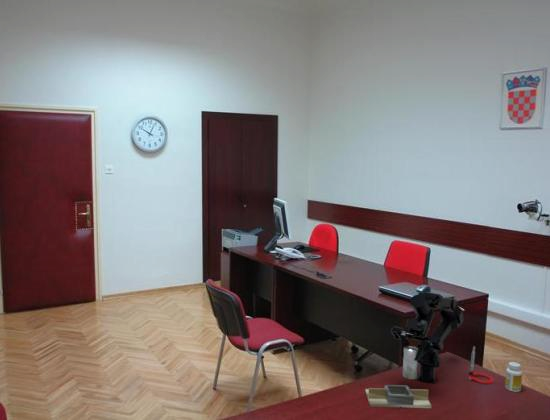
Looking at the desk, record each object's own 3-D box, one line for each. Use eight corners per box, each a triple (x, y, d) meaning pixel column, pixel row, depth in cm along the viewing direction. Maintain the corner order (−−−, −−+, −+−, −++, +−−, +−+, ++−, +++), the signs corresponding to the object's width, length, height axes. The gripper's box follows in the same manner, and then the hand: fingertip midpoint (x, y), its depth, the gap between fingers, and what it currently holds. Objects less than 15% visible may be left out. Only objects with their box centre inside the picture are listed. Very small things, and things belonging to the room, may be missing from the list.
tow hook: (494, 378, 192) (469, 372, 196) (497, 347, 191) (472, 342, 194) (493, 387, 185) (467, 381, 188) (497, 355, 183) (471, 349, 187)
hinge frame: (365, 391, 179) (365, 379, 178) (422, 393, 178) (423, 381, 178) (370, 406, 168) (370, 394, 167) (431, 408, 167) (431, 395, 167)
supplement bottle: (522, 388, 183) (524, 364, 182) (518, 393, 179) (520, 368, 178) (507, 384, 186) (509, 359, 185) (503, 388, 182) (504, 364, 181)
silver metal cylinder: (416, 373, 180) (417, 346, 178) (417, 379, 175) (418, 351, 174) (402, 372, 181) (403, 345, 180) (402, 378, 176) (404, 350, 175)
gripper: (393, 305, 184) (378, 341, 177) (442, 316, 172) (428, 355, 165) (402, 320, 191) (388, 355, 184) (449, 331, 179) (436, 369, 172)
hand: (409, 358), depth 176 cm, fingers closed on silver metal cylinder, 5 cm apart
